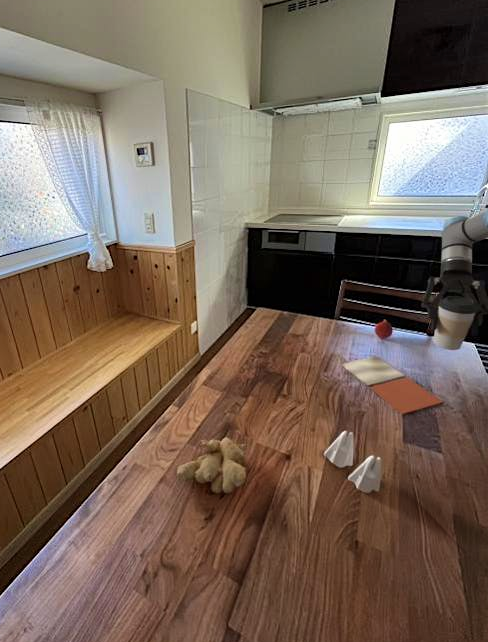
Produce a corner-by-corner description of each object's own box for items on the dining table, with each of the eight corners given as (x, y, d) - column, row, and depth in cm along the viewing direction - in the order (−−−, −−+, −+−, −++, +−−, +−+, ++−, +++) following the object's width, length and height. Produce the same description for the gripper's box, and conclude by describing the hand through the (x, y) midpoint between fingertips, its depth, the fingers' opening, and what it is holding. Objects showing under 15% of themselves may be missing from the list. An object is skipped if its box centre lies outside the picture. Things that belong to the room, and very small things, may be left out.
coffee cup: (435, 350, 100) (448, 305, 94) (424, 335, 108) (435, 292, 102) (471, 353, 98) (486, 306, 92) (456, 337, 106) (470, 293, 100)
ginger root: (265, 455, 81) (262, 436, 76) (237, 520, 71) (232, 503, 66) (209, 432, 89) (203, 413, 85) (177, 487, 79) (169, 470, 75)
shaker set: (321, 459, 80) (327, 424, 76) (333, 452, 82) (339, 417, 78) (368, 499, 71) (377, 462, 66) (380, 489, 73) (390, 452, 68)
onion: (393, 339, 127) (398, 320, 123) (384, 344, 124) (388, 325, 121) (379, 333, 131) (382, 315, 128) (370, 337, 129) (373, 319, 125)
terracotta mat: (443, 402, 95) (443, 401, 95) (402, 414, 92) (403, 413, 92) (407, 378, 106) (407, 377, 106) (370, 388, 103) (370, 387, 102)
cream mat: (404, 376, 107) (404, 375, 106) (367, 386, 104) (367, 385, 103) (375, 356, 117) (376, 355, 117) (341, 365, 114) (341, 364, 114)
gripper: (495, 272, 103) (495, 342, 96) (412, 266, 112) (407, 330, 106) (507, 260, 97) (508, 334, 90) (417, 255, 106) (412, 322, 99)
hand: (453, 332), depth 98 cm, fingers closed on coffee cup, 9 cm apart
